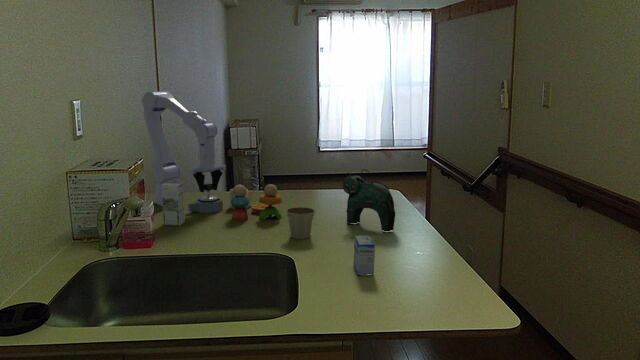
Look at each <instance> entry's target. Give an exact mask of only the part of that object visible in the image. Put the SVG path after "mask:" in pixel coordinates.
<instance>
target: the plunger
mask: <svg viewBox="0 0 640 360" xmlns="http://www.w3.org/2000/svg"><path fill="white" fill-rule="evenodd" d="M212 190H213V186H212V183H204V191H206V195H205V196H201V197H198V198H199V200H200V201H215V200H217V199H218V196H215V195H211V194H210V193H211V192H210V191H212ZM213 191H214V190H213Z"/></svg>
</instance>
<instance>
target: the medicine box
mask: <svg viewBox="0 0 640 360" xmlns="http://www.w3.org/2000/svg"><path fill="white" fill-rule="evenodd" d="M353 245H354V246H353V267H355V268H354V270H355V272H356V274H357V276H358V275H367V274H374V275H375V257H376V256H375V255H376V254H375V253H376V245H375V243H374V242H373V240H372V238H371V236H370V235H354V243H353Z"/></svg>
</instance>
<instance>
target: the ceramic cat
mask: <svg viewBox="0 0 640 360" xmlns="http://www.w3.org/2000/svg"><path fill="white" fill-rule="evenodd" d="M363 171H365V172H367V174H370V172H369V170H368V169H366V168H364V169H362V170H361V172H360V175H352V174H351V173H350V172H347V175H346V177H345V178H344V180H343V182H342V188H343V191H344V193H346V194H348V198H347V201H346V202H347V204H346V205H347V206H346V223H347V222H348V223H357V222H360V223H361V214H362V212H363V210H364V209H371V210H373V211H375V212H376V213H377V215H378V217H379V221H380V225H381V231H382V230H384V231H390V230H393V231H394V229H395V228H394V227H395V221H396V220H395V219H396V210H395V202H394V198H393V195H392V194H391V192H390V189H389V188H388V186H387V184H385V183H384V182H381V181H379V180H375V181H374V180H373V181H369V182H368V181H367V182H366V180H364V179H363V176H362V175H363Z"/></svg>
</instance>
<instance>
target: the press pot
mask: <svg viewBox="0 0 640 360" xmlns="http://www.w3.org/2000/svg"><path fill="white" fill-rule="evenodd" d="M217 197H218V196H217ZM199 198H200V197H198V198H195V199H194V202H190V203H188V206H187V207H188V212H196V213H201V214H213V213H219V212H221V211H224V203H223V198H222V197H220V196H219V197H218V199H217V200H215V201H200V200H199Z"/></svg>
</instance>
